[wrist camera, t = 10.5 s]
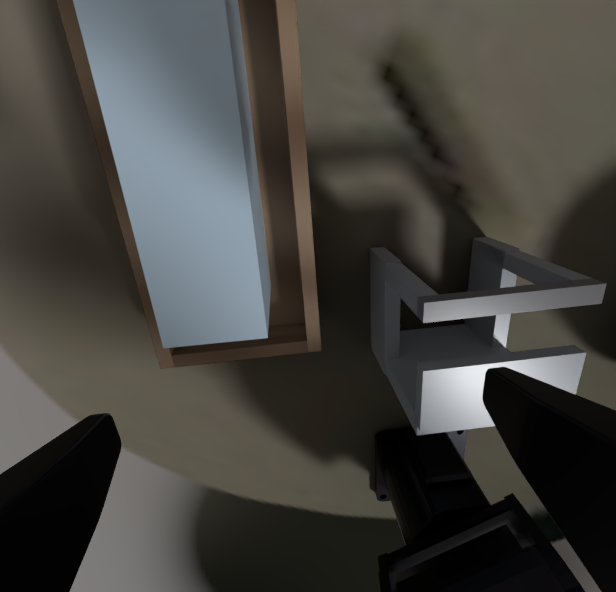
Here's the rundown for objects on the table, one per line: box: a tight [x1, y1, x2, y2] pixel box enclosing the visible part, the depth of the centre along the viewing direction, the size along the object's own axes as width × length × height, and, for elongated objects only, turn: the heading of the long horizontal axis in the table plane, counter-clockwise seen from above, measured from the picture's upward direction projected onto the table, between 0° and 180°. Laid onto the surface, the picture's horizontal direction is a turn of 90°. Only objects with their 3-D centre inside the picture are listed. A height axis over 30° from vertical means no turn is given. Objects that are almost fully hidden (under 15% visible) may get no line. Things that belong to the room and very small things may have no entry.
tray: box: [56, 0, 321, 369], centre depth 16 cm, size 20×8×3 cm, turn 5°
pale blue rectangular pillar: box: [73, 0, 271, 348], centre depth 13 cm, size 14×4×6 cm, turn 4°
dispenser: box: [370, 237, 607, 435], centre depth 17 cm, size 6×7×8 cm
